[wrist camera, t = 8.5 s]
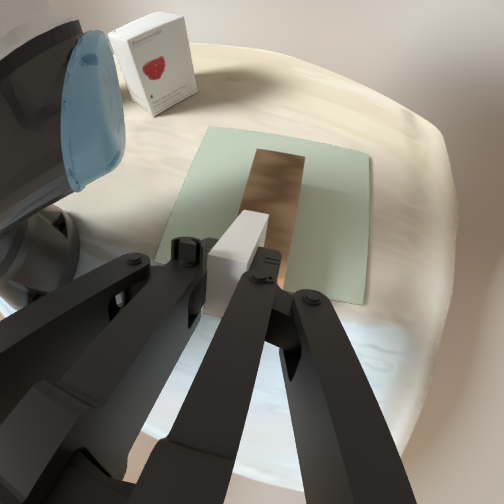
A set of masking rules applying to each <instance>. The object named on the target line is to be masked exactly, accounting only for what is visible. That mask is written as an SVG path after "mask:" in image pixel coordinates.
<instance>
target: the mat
mask: <svg viewBox="0 0 504 504" xmlns="http://www.w3.org/2000/svg"><path fill="white" fill-rule="evenodd" d="M257 149H264V150H271V151H277V152H283V153H288V154H294V155H299V156H305V163H304V170H303V176H302V183H301V189H300V195H299V201H298V207H297V213H296V219H295V225H294V231H293V236H292V242H291V247H290V253H289V258H288V264H287V269H286V274H285V279H284V285H283V290H284V291H288V292H293V293H295V292H296V291H298V290H301V289H311V290H317V291H319V292H321V293H322V294H324V295H326V296H327V297H328V299H329V300H335V301H340V302H346V303H351V304H357V305H362V304H363V300H364V290H365V280H366V269H367V256H368V238H369V205H370V184H369V154H366V153H362V152H359V151H355V150H351V149H347V148H342V147H338V146H334V145H329V144H325V143H320V142H315V141H310V140H305V139H300V138H294V137H289V136H283V135H277V134H270V133H264V132H256V131H249V130H241V129H232V128H222V127H211V126H209V127H208V129H207V131H206V133H205V136H204V138H203V140H202V142H201V144H200V146H199V148H198V151H197V153H196V155H195V157H194V160H193V162H192V164H191V166H190V169H189V171H188V173H187V176H186V178H185V180H184V183H183V185H182V188H181V190H180V192H179V195H178V197H177V200H176V202H175V205H174V208H173V210H172V213H171V215H170V218H169V220H168V223H167V226H166V229H165V231H164V234H163V237H162V239H161V242H160V245H159V248H158V251H157V254H156V257H155V260H154V261H155V262H157V263H161V264H165V265H166V264H167V263H168V262H169V261H170V260H171V240H172V239H174V238H177V237H185V236H188V237H195V238H198V239H200V240H203V239H205V238H208V237H210V238H215V239H220V238H221V237H222V236H223V235H224V233H225V232H226V231H227V230H228V228H229V227H230V226H231V225H232V223H233V222H234V221H235V220H236V219H237V216H238V212H239V208H240V205H241V201H242V198H243V194H244V191H245V187H246V184H247V180H248V177H249V173H250V170H251V167H252V163H253V160H254V156H255V153H256V150H257Z"/></svg>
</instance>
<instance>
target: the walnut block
mask: <svg viewBox="0 0 504 504" xmlns="http://www.w3.org/2000/svg"><path fill="white" fill-rule="evenodd" d="M304 163H305V156H299V155H294V154H288V153H283V152H277V151H271V150H264V149H257V150H256V153H255V156H254V160H253V163H252V167H251V170H250V173H249V177H248V180H247V184H246V187H245V191H244V194H243V198H242V201H241V205H240V208H239V212H238V216H239V215H240V214H241V212H242V211H243V210H248V211H254V212H259V213H265V214H269V218H268V224H267V230H266V236H265V242H264V248H269V249H274V250H279V252H280V253H281V255H282V259H281V264H280V269H279V274H278V279H277V283H278V285H279V287H280V288H281V289H282V290H283V285H284V279H285V274H286V269H287V264H288V258H289V253H290V247H291V242H292V236H293V231H294V225H295V219H296V213H297V207H298V201H299V195H300V189H301V183H302V176H303V170H304ZM238 216H237V217H238Z"/></svg>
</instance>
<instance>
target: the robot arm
mask: <svg viewBox="0 0 504 504" xmlns="http://www.w3.org/2000/svg"><path fill="white" fill-rule="evenodd" d="M125 139H126V138H125V122H124V113H123V106H122V99H121V93H120V87H119V82H118V76H117V71H116V67H115V62H114V58H113V54H112V52H111V50H110V46H109V42H108V39H107V37H106V35H105V34H104V33H103V32H102V31H100V30H95V31H90V30H89V31H87V32H85V33H83V32H82V29H81V26H80V23H79V20H78V18H77V17H76V16H72V15H68V14H63V13H59V12H56V10H55V9H54V8H53V5H52V1H51V0H0V297H1V298H3V299H4V300H5V301H6V302H7V303H8V304H9V305H10V306H11V307H12V308H14V309H15V310H17V312H15V313H13V314H11V315H10V316H8V317H6V318H5V319H3V320H1V321H0V504H223V503H224V499H225V496H226V492H227V489H228V485H229V482H230V478H231V475H232V471H233V467H234V463H235V459H236V455H237V452H238V448H239V444H240V440H241V436H242V433H243V429H244V425H245V421H246V417H247V413H248V409H249V405H250V401H251V397H252V392H253V388H254V384H255V380H256V376H257V371H258V367H259V363H260V358H261V354H262V350H263V345H264V341H266V342H268V343H271V344H273V345H275V346H277V347H279V356H280V361H281V366H282V372H283V377H284V382H285V388H286V393H287V398H288V404H289V409H290V415H291V420H292V426H293V431H294V437H295V442H296V448H297V453H298V459H299V464H300V470H301V475H302V481H303V487H304V492H305V498H306V504H417V503H416V500H415V497H414V494H413V491H412V488H411V485H410V483H409V480H408V477H407V475H406V472H405V469H404V466H403V464H402V461H401V458H400V456H399V453H398V451H397V448H396V446H395V443H394V441H393V438H392V436H391V433H390V431H389V428H388V426H387V423H386V421H385V419H384V416H383V414H382V411H381V409H380V407H379V404H378V402H377V400H376V398H375V395H374V393H373V391H372V388H371V386H370V384H369V382H368V379H367V377H366V375H365V373H364V371H363V368H362V366H361V364H360V362H359V360H358V358H357V355H356V353H355V351H354V349H353V347H352V345H351V343H350V341H349V338H348V336H347V334H346V332H345V330H344V328H343V326H342V324H341V322H340V320H339V318H338V316H337V314H336V312H335V310H334V308H333V306H332V304H331V302H330V300H329V299H328V297H327V296H326V295H324V294H322V293H321V292H319V291H317V290H311V289H301V290H298V291H296V292H295V294H294V295H292V294H289V293H287V292H285V291H284V290H282V289H281V288H280V287H279V285H278V283H277V279H278V274H279V269H280V264H281V259H282V255H281V253H280V252H279V250H274V249H269V248H264V242H265V236H266V230H267V224H268V218H269V214H265V213H259V212H254V211H248V210H243V211H242V212H241V214H240V215H239V216H238V217H237V219H236V220H235V221H234V222H233V223H232V225H231V226H230V227H229V228H228V230H227V231H226V232H225V233H224V235H223V236H222V237H221V238H220V239H215V238H210V237H208V238H205V239H203V240H200V239H198V238H195V237H188V236H185V237H177V238H174V239H172V240H171V260H170V261H169V262H168V263H167V264H166V265H165V266H150V259H149V257H148V256H146V255H144V254H141V253H130V254H126V255H123V256H121V257H119V258H117V259H114V260H112V261H110V262H108V263H106V264H104V265H102V266H100V267H98V268H96V269H94V270H92V271H90V272H88V273H86V274H85V275H83V276H81V277H79V278H77V279H75V280H73V281H72V279H73V276H74V273H75V270H76V267H77V262H78V257H79V235H78V231H77V227H76V225H75V223H74V221H73V220H72V219H71V217H70V216H68V215H67V214H66V213H65V212H64V211H63V210H62V209H60V208H59V207H57V206H55V205H52V204H53V203H55V202H57V201H59V200H60V199H62V198H64V197H66V196H68V195H70V194H72V193H74V192H80V191H82V190H83V189H84V188H85V186H86V185H88V184H89V183H91V182H93V181H95V180H97V179H98V178H100V177H102V176H104V175H106V174H108V173H110V172H111V171H113V170H114V169H115V168H116V167H117V166H118V164H119V163H120V162H121V159H122V157H123V155H124V150H125ZM119 293H121V298H122V303H121V304H119V305H117V304H116V299H115V296H116V295H117V294H119ZM203 305H204V314H208V315H212V316H216V317H220V318H222V319H221V321H220V324H219V326H218V328H217V330H216V332H215V335H214V337H213V339H212V341H211V343H210V346H209V348H208V350H207V352H206V354H205V356H204V359H203V361H202V363H201V365H200V367H199V370H198V372H197V374H196V376H195V378H194V381H193V383H192V385H191V387H190V389H189V391H188V394H187V396H186V398H185V400H184V402H183V405H182V407H181V409H180V411H179V413H178V416H177V418H176V420H175V422H174V424H173V426H172V429H171V431H170V433H169V434H168V436H167V437H166V438H163V439H160V440H159V441H158V442H157V444H156V445H155V447H154V449H153V450H152V452H151V454H150V456H149V458H148V460H147V462H146V464H145V466H144V469H143V471H142V473H141V475H140V477H139V479H138V481H137V483H136V484H134V483H129V482H125V481H122V480H123V478H124V475H125V473H126V469H127V457H128V454H129V452H130V450H131V448H132V446H133V443H134V442H135V440H136V438H137V436H138V434H139V432H140V430H141V428H142V427H143V425H144V423H145V421H146V419H147V417H148V415H149V413H150V411H151V410H152V408H153V406H154V404H155V402H156V400H157V398H158V396H159V395H160V393H161V391H162V389H163V387H164V385H165V383H166V381H167V380H168V378H169V376H170V374H171V372H172V370H173V368H174V367H175V365H176V363H177V361H178V359H179V357H180V356H181V354H182V352H183V350H184V348H185V346H186V345H187V343H188V341H189V339H190V337H191V335H192V334H193V332H194V330H195V328H196V326H197V324H198V323H199V321H200V314H201V308H202V306H203Z"/></svg>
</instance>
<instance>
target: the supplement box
mask: <svg viewBox="0 0 504 504" xmlns="http://www.w3.org/2000/svg"><path fill="white" fill-rule="evenodd" d="M108 36H109V39H110V42H111V44H112V47H113V50H114V53H115V56H116V58H117V61H118V64H119V66H120V69H121V72H122V74H123V77H124V80H125V82H126V85H127V87H128V90H129V92H130V95H131V98H132V100H133V101H135V102H136V103H137V104H138V105H139V106H141V107H142V108H143V109H144V110H145V111H147V112H148V113H149V114H150V115H151V116H153V117H155V116H156V115H158V114H160V113H161V112H163V111H165V110H166V109H168V108H170V107H171V106H173V105H175V104H177V103H178V102H180V101H182V100H184V99H186V98H187V97H189V96H191V95H193V94H195V93H197V92H198V89H197V85H196V79H195V74H194V69H193V64H192V59H191V53H190V48H189V43H188V38H187V32H186V26H185V21H184V16H180V15H175V14H168V13H164V12H155V13H152V14H149V15H147V16H145V17H142V18H140V19H137V20H135V21H132V22H130V23H128V24H126V25H124V26H122V27H120V28H118V29H116V30H114V31H112V32H110V33H108Z"/></svg>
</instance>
